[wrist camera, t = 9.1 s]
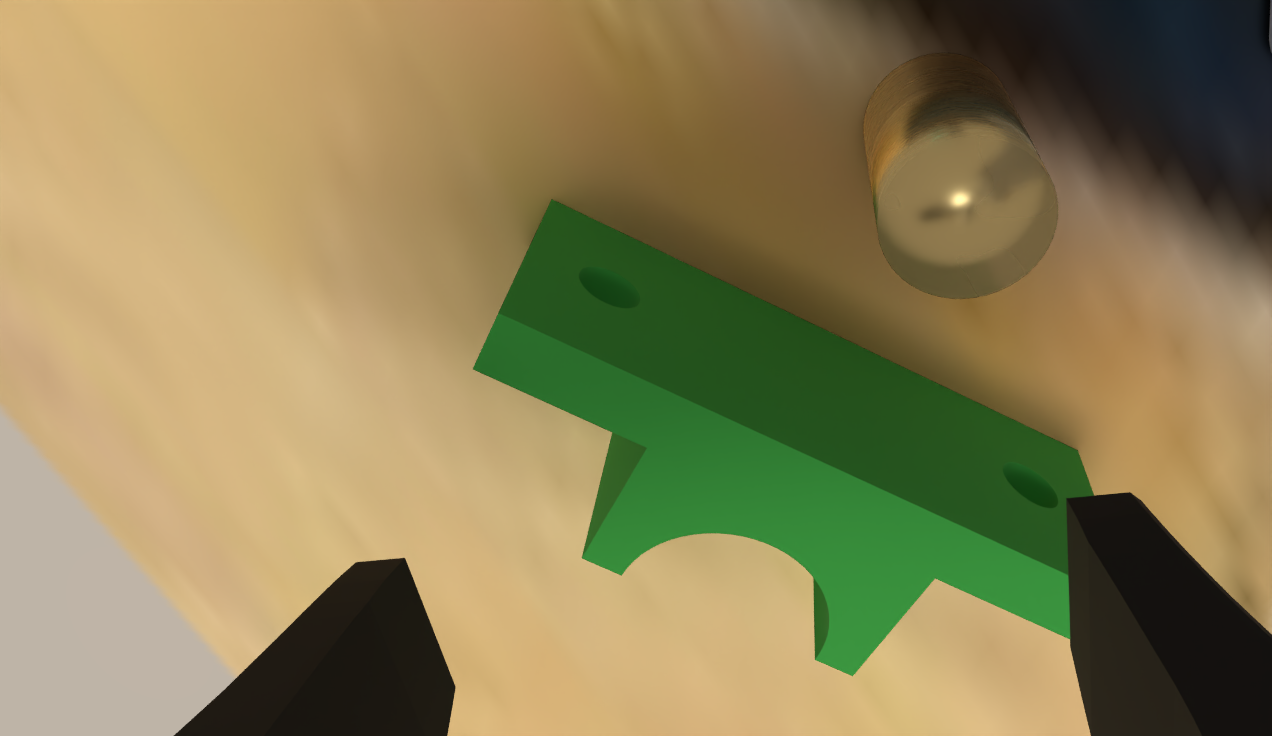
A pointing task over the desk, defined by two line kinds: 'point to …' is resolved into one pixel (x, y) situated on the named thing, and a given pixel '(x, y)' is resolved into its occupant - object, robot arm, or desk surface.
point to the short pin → (955, 179)
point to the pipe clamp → (781, 439)
